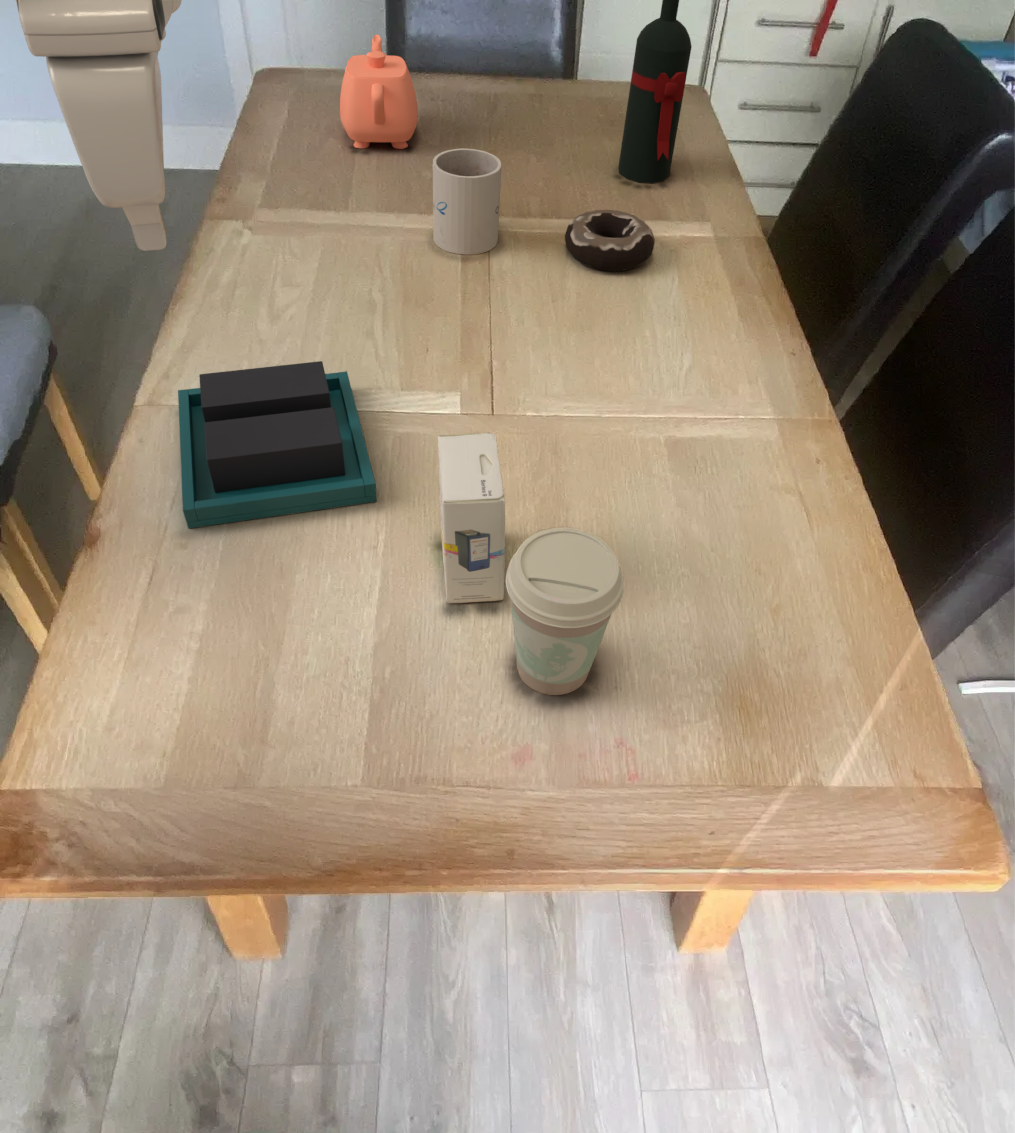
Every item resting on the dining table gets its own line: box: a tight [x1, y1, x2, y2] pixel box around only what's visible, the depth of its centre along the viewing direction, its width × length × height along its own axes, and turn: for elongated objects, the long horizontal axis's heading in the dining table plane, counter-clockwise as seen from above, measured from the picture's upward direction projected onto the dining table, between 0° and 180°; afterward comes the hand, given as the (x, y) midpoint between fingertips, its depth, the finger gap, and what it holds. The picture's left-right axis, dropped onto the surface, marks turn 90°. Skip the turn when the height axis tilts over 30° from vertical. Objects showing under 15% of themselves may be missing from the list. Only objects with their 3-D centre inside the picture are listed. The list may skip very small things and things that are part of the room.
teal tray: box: [177, 370, 378, 529], centre depth 88 cm, size 17×18×2 cm
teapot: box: [339, 34, 419, 150], centre depth 137 cm, size 20×12×12 cm, turn 6°
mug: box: [432, 148, 502, 256], centre depth 118 cm, size 12×9×10 cm
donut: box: [564, 209, 656, 272], centre depth 118 cm, size 12×12×4 cm
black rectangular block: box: [198, 360, 331, 422], centre depth 90 cm, size 12×6×4 cm, turn 105°
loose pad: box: [204, 407, 345, 493], centre depth 85 cm, size 12×6×4 cm, turn 105°
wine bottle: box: [617, 0, 692, 184], centre depth 126 cm, size 8×10×30 cm
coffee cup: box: [505, 526, 625, 696], centre depth 68 cm, size 8×8×12 cm
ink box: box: [437, 432, 506, 604], centre depth 75 cm, size 9×5×12 cm, turn 6°
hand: (152, 211), depth 60 cm, fingers open, 8 cm apart
